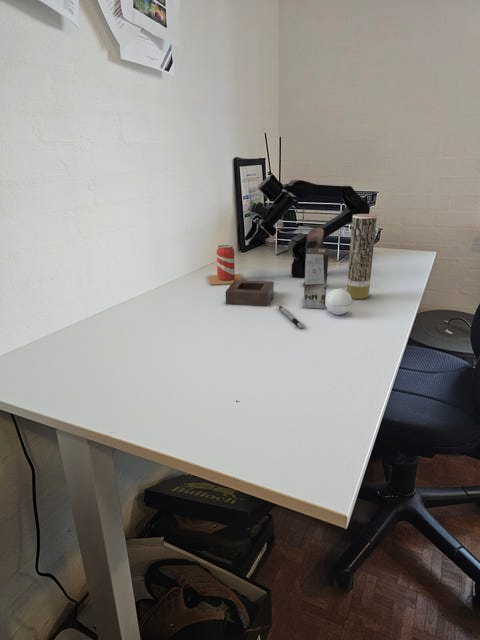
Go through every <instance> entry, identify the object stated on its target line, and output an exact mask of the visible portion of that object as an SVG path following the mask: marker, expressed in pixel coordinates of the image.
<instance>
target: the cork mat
mask: <svg viewBox="0 0 480 640" xmlns="http://www.w3.org/2000/svg"><path fill="white" fill-rule="evenodd" d="M208 280H209V283H210V286H224V285H231V284H232V283H233V282H234V280H244V279H243V277H242V276H241V273H235V277H234V278H232V280H221V279H219V278H218V276H217V274H214V275H208Z"/></svg>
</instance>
